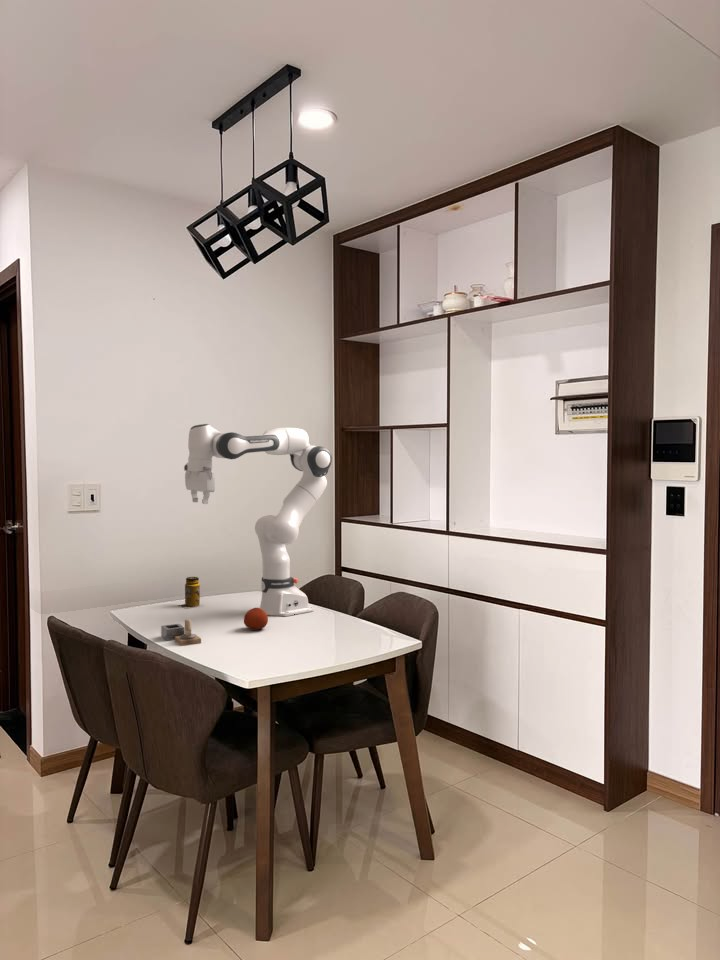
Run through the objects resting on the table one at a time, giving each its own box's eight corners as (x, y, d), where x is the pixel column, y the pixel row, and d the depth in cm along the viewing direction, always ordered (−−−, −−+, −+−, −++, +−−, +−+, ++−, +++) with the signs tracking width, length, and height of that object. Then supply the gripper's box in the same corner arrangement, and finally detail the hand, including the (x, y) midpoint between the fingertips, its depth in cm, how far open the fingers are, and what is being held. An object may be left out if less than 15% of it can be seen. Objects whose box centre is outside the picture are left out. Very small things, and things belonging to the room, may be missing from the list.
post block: (194, 638, 259) (194, 617, 259) (201, 643, 253) (201, 621, 253) (175, 640, 255) (174, 619, 255) (181, 645, 249) (180, 623, 249)
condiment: (203, 605, 311) (203, 577, 311) (186, 608, 305) (186, 580, 305) (194, 603, 316) (194, 575, 316) (177, 606, 310) (176, 577, 310)
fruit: (241, 627, 275) (241, 606, 274) (264, 625, 278) (264, 604, 277) (246, 633, 266) (246, 611, 266) (270, 631, 270) (270, 609, 269)
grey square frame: (179, 634, 264) (179, 623, 264) (184, 638, 258) (184, 627, 258) (161, 636, 261) (161, 625, 261) (166, 641, 255) (166, 629, 255)
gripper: (219, 467, 273) (219, 504, 274) (197, 466, 290) (197, 501, 291) (203, 467, 270) (203, 505, 270) (182, 466, 286) (182, 501, 287)
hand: (200, 503), depth 281 cm, fingers open, 8 cm apart
